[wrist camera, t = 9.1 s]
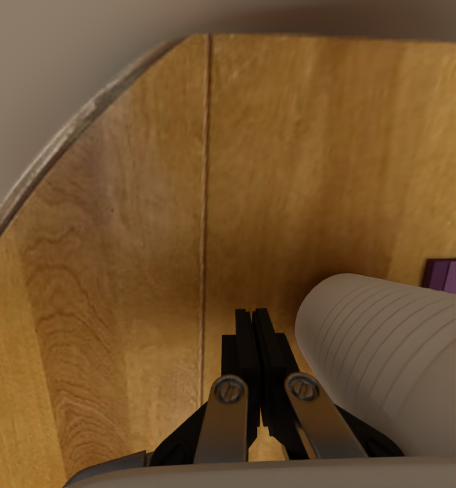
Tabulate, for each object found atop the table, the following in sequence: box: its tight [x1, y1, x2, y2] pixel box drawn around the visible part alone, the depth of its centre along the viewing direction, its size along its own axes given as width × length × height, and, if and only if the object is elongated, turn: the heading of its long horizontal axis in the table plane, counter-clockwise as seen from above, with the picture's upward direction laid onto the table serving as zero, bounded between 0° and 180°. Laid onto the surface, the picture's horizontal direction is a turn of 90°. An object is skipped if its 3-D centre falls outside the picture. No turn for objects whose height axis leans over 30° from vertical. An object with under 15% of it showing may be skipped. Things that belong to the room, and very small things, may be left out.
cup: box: [295, 273, 456, 457], centre depth 9 cm, size 10×10×11 cm
